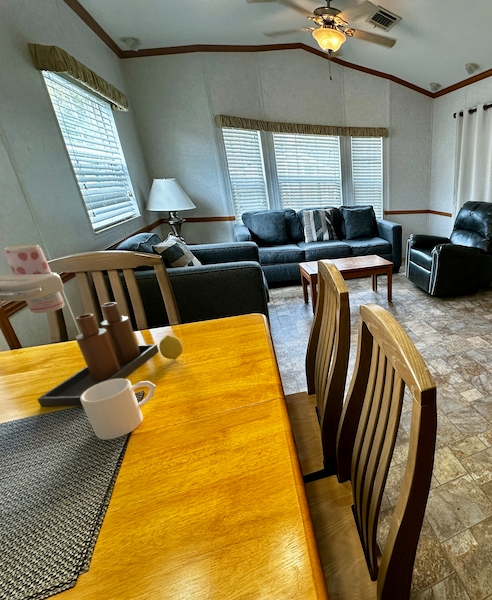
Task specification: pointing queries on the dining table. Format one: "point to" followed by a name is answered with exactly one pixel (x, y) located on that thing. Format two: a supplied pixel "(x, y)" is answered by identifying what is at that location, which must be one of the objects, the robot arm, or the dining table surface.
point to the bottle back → (120, 333)
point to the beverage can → (33, 262)
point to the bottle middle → (96, 349)
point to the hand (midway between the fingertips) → (38, 275)
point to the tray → (90, 381)
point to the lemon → (171, 347)
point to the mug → (114, 407)
